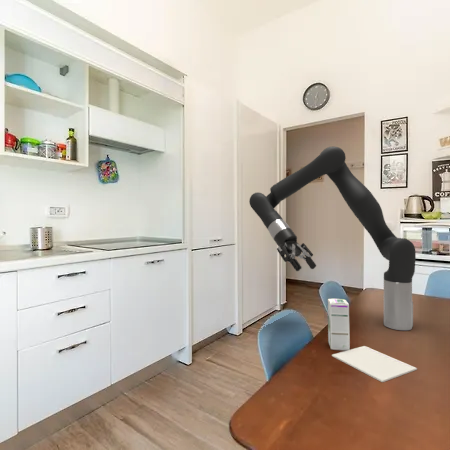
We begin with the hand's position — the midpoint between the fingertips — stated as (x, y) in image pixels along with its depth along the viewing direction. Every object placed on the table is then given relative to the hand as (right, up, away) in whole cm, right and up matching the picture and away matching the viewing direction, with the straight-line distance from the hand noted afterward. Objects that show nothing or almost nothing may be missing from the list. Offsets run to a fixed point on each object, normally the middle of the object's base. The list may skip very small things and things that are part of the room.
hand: (307, 268), depth 102 cm
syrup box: (+7, -23, -9) cm, 26 cm away
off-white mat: (+13, -23, -20) cm, 33 cm away
